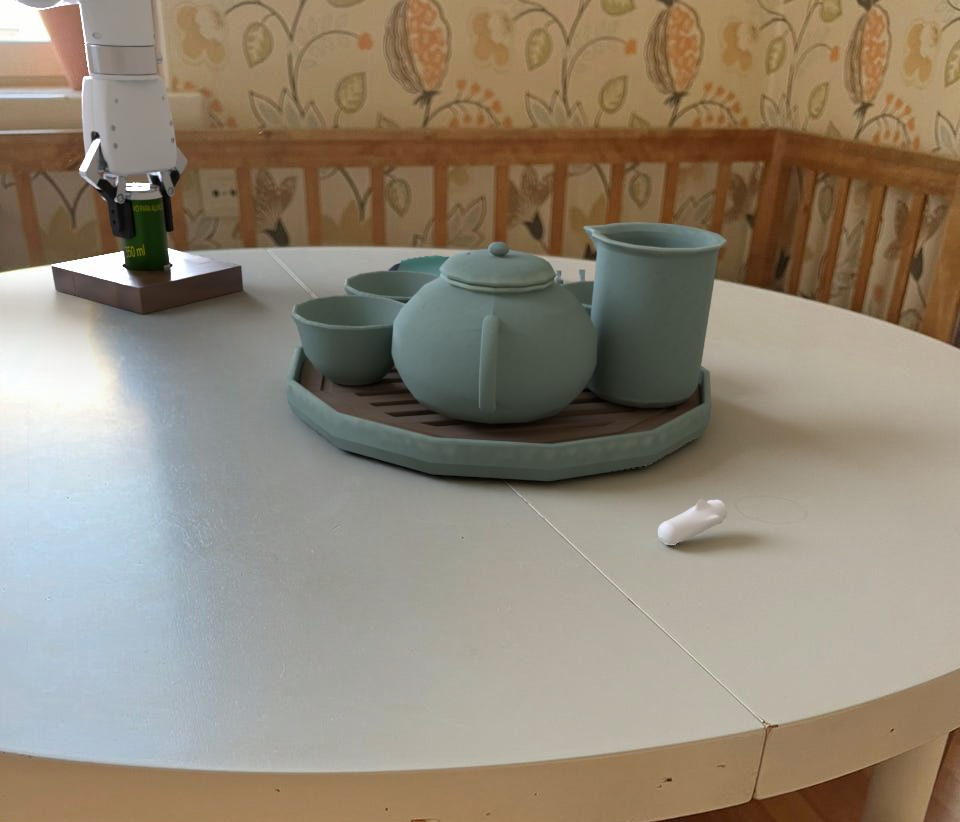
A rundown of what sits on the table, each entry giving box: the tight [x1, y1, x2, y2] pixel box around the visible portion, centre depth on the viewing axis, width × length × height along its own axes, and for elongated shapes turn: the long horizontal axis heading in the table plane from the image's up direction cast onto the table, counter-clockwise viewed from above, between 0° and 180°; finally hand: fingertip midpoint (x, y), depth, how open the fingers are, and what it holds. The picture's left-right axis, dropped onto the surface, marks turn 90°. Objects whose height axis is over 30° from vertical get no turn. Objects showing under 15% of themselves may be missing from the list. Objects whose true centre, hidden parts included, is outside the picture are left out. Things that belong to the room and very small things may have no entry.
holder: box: [50, 248, 244, 315], centre depth 130 cm, size 16×16×3 cm
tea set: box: [285, 221, 728, 482], centre depth 96 cm, size 40×40×16 cm
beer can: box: [120, 182, 170, 271], centre depth 127 cm, size 5×5×12 cm
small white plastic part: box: [654, 498, 728, 545], centre depth 76 cm, size 4×6×3 cm, turn 97°
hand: (143, 232), depth 127 cm, fingers closed on beer can, 5 cm apart
